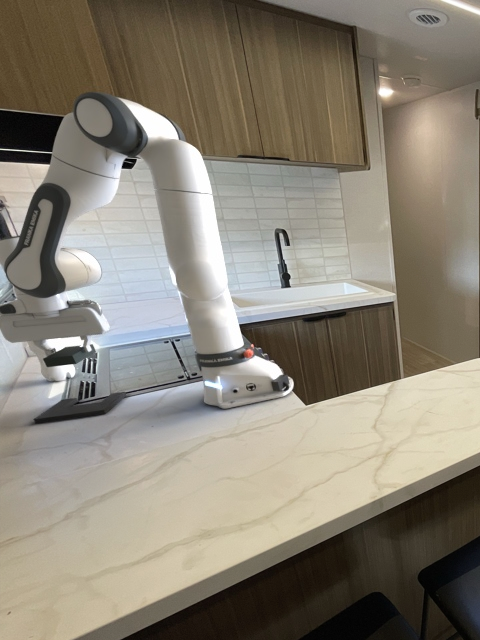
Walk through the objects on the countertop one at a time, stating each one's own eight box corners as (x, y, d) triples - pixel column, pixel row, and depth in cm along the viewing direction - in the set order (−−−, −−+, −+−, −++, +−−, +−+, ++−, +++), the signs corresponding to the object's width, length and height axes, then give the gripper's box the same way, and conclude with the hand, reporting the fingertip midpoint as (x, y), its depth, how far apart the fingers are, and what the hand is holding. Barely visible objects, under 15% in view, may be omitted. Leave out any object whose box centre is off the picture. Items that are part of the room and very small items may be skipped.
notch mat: (126, 395, 115) (125, 391, 114) (105, 413, 104) (103, 409, 104) (63, 403, 110) (62, 399, 110) (35, 423, 100) (33, 419, 99)
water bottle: (57, 383, 123) (19, 303, 113) (39, 382, 124) (0, 302, 114) (84, 375, 129) (50, 297, 120) (66, 373, 131) (31, 297, 121)
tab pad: (96, 352, 114) (92, 344, 113) (76, 364, 105) (72, 355, 104) (69, 355, 112) (65, 346, 111) (46, 367, 103) (42, 358, 102)
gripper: (103, 296, 108) (122, 345, 114) (2, 303, 102) (28, 354, 107) (90, 301, 103) (111, 351, 108) (-17, 309, 96) (12, 362, 102)
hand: (69, 353), depth 108 cm, fingers closed on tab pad, 6 cm apart
